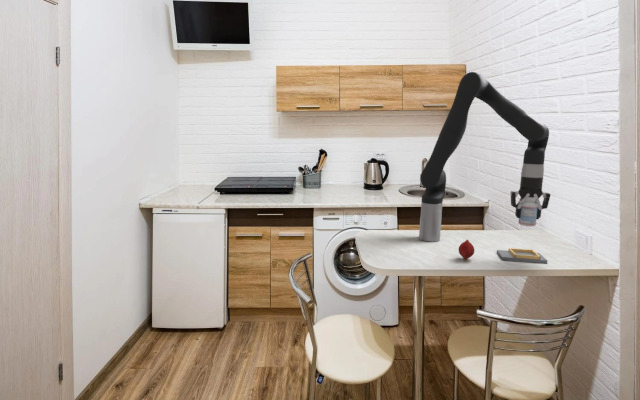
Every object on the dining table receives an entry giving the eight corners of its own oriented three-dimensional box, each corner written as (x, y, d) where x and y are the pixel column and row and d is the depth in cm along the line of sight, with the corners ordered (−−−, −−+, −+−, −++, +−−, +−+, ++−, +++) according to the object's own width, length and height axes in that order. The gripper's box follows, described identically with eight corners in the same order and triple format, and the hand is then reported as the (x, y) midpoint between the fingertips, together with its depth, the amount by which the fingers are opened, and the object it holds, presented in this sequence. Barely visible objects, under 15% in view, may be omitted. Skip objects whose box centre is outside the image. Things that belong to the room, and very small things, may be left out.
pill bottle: (521, 222, 161) (524, 194, 159) (538, 225, 156) (541, 196, 155) (515, 224, 157) (518, 196, 155) (532, 227, 152) (535, 198, 151)
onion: (455, 257, 159) (456, 237, 157) (469, 256, 159) (471, 237, 158) (461, 261, 153) (463, 241, 152) (476, 261, 154) (477, 241, 152)
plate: (502, 260, 156) (502, 254, 155) (496, 252, 166) (497, 247, 165) (547, 263, 153) (547, 257, 152) (538, 255, 162) (539, 249, 162)
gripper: (514, 176, 151) (510, 219, 154) (556, 177, 148) (551, 221, 151) (509, 174, 158) (505, 215, 161) (549, 175, 156) (544, 217, 158)
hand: (527, 218), depth 156 cm, fingers closed on pill bottle, 6 cm apart
